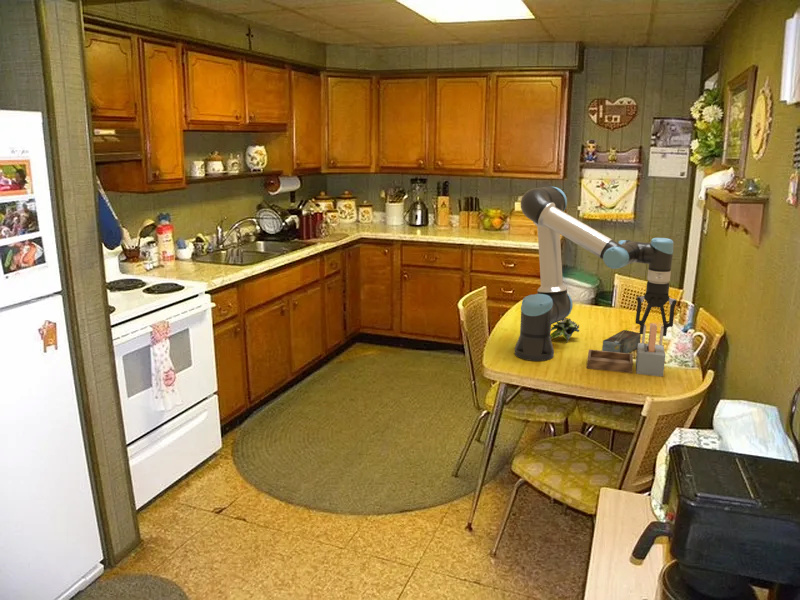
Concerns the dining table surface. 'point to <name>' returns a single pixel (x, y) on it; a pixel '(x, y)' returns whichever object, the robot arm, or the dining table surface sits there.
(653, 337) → the tan wooden bar
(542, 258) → the robot arm
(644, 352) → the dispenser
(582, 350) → the dining table surface
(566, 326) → the green leafy plant
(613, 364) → the tray
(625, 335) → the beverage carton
